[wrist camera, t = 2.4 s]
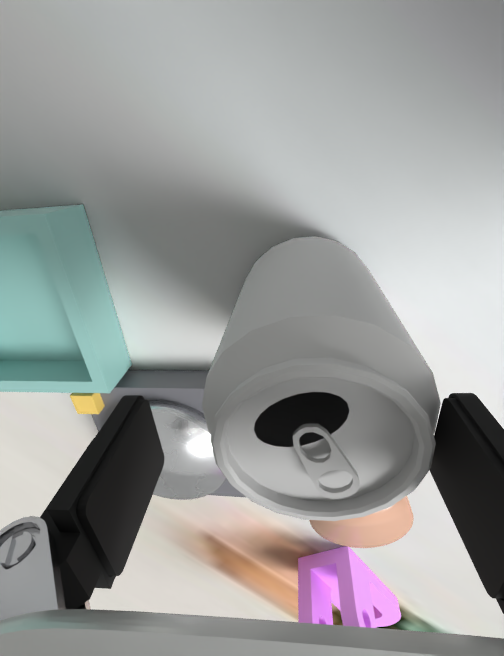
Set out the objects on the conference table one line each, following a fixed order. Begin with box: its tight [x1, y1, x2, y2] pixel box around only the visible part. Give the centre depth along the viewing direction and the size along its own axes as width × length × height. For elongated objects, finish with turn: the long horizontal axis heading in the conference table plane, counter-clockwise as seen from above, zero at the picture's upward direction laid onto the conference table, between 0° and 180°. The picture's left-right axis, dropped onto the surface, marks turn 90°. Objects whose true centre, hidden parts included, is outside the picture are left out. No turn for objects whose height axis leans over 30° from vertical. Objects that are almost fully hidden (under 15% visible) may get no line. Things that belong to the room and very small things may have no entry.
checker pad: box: [148, 400, 226, 500], centre depth 24 cm, size 9×9×1 cm
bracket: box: [298, 546, 401, 628], centre depth 31 cm, size 13×6×7 cm, turn 36°
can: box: [202, 236, 440, 521], centre depth 14 cm, size 8×8×12 cm
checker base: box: [70, 370, 246, 497], centre depth 25 cm, size 11×11×3 cm
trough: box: [0, 204, 132, 393], centre depth 20 cm, size 11×11×3 cm
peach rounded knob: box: [310, 496, 413, 548], centre depth 22 cm, size 6×6×6 cm
